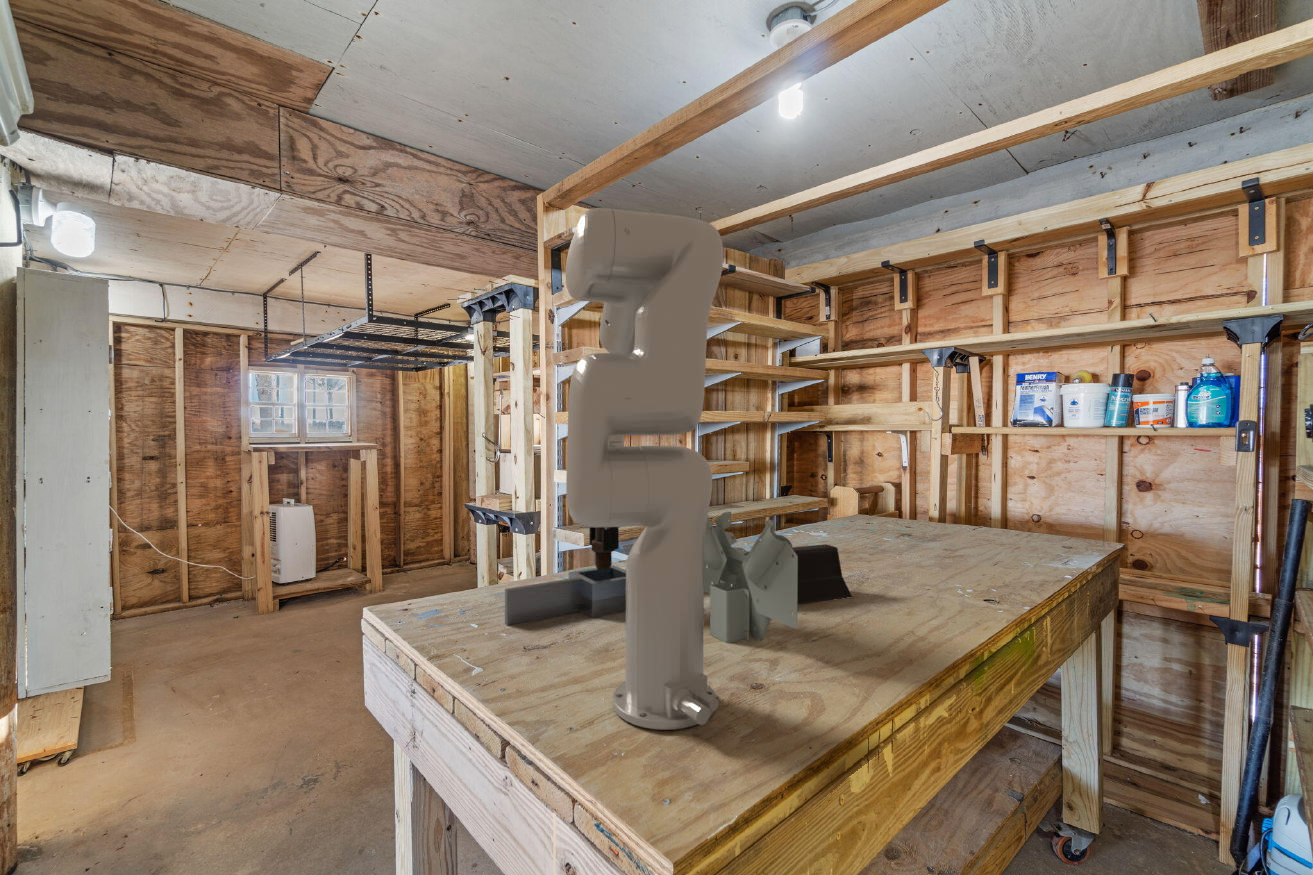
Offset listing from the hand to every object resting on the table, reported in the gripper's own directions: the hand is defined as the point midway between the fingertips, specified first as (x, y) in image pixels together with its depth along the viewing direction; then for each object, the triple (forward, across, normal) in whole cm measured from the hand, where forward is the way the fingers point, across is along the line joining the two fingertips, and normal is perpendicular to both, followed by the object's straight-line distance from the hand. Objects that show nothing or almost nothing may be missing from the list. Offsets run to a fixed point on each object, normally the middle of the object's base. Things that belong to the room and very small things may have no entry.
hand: (603, 546), depth 107 cm
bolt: (+5, 0, 0) cm, 5 cm away
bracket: (+12, -25, -11) cm, 30 cm away
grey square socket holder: (+11, 0, 0) cm, 11 cm away
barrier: (+12, -16, -34) cm, 39 cm away
